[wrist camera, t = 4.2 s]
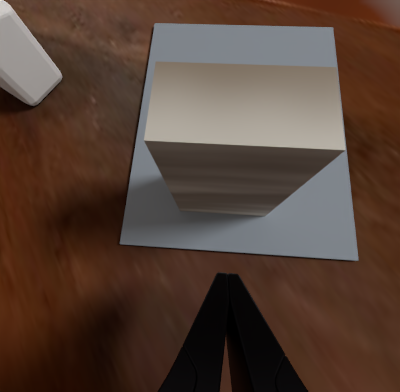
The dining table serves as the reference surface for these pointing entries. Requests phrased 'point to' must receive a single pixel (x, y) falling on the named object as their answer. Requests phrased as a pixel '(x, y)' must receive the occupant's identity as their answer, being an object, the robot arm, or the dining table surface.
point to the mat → (234, 223)
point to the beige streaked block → (241, 132)
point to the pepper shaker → (24, 60)
